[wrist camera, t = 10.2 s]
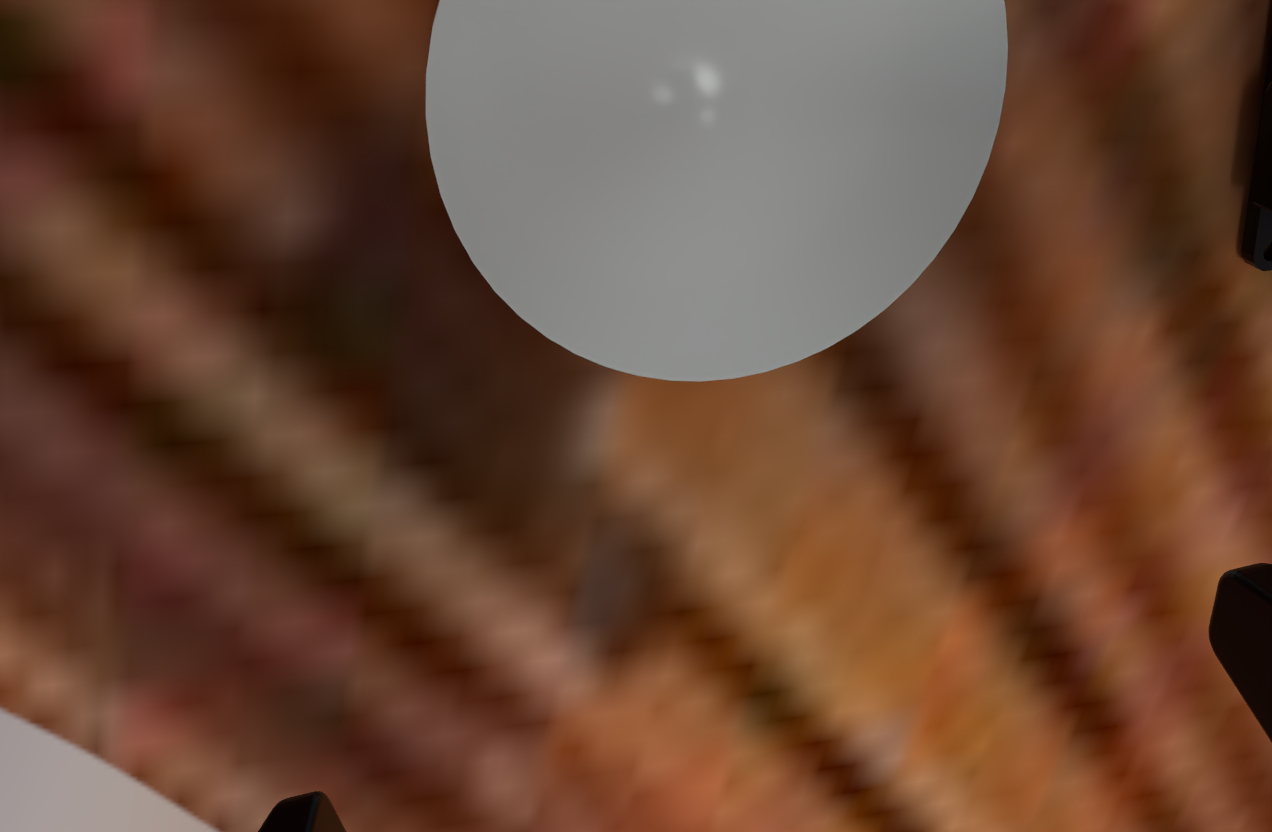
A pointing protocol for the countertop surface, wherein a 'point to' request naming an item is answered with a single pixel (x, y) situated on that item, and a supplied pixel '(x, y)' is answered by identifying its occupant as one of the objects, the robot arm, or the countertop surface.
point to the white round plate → (709, 165)
